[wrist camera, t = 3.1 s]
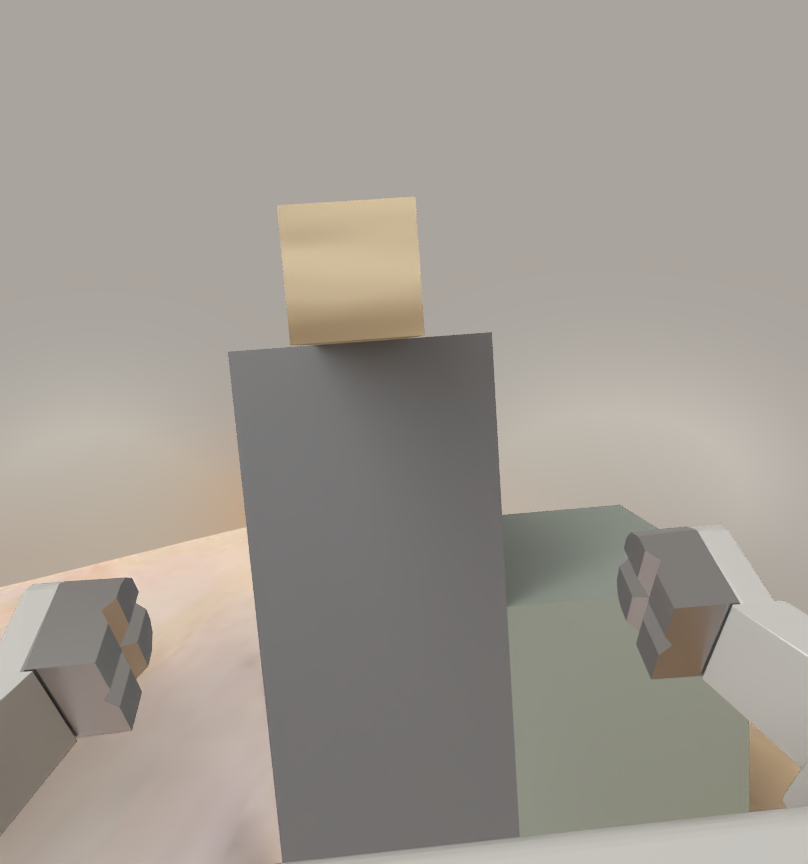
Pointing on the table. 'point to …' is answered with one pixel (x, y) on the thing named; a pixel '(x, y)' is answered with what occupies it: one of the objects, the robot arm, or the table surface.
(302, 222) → the batten
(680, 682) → the step stand
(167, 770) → the table surface
